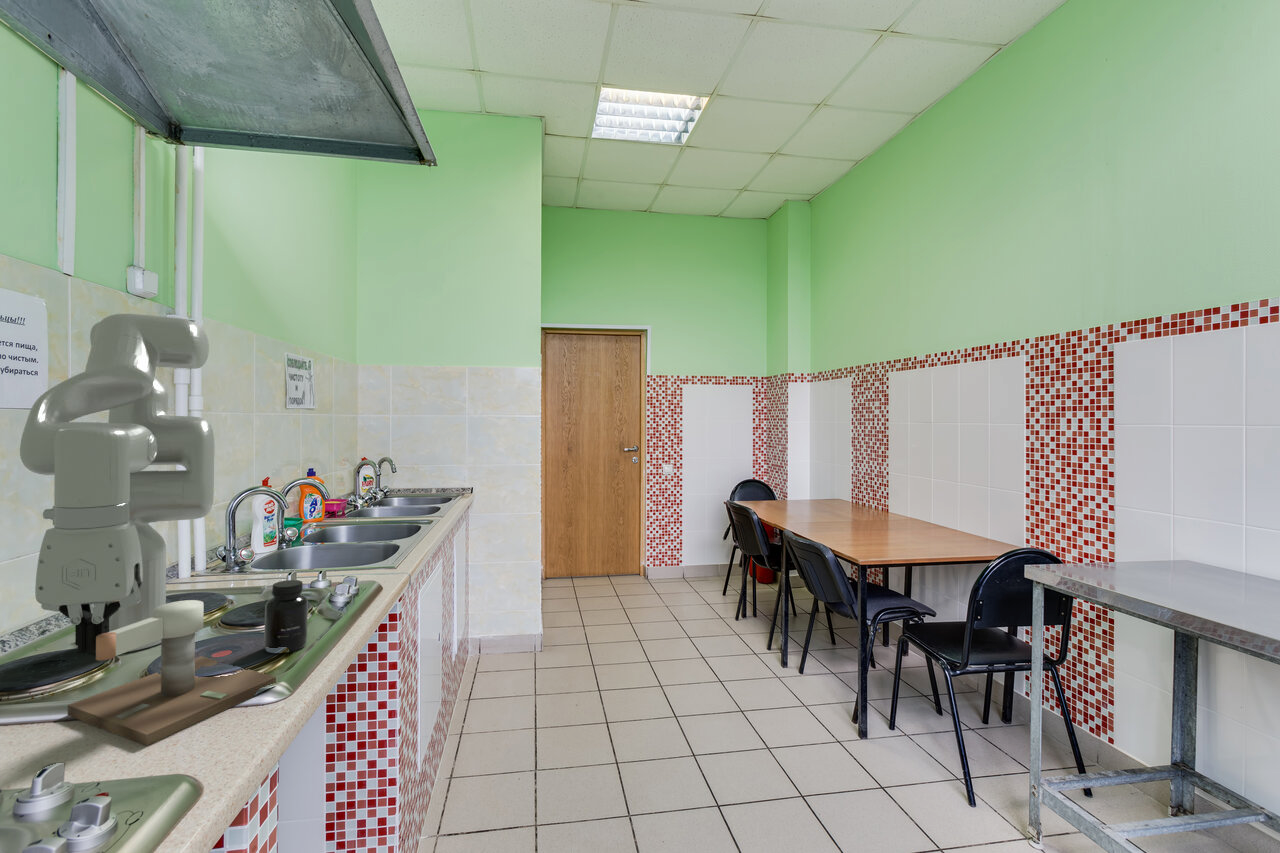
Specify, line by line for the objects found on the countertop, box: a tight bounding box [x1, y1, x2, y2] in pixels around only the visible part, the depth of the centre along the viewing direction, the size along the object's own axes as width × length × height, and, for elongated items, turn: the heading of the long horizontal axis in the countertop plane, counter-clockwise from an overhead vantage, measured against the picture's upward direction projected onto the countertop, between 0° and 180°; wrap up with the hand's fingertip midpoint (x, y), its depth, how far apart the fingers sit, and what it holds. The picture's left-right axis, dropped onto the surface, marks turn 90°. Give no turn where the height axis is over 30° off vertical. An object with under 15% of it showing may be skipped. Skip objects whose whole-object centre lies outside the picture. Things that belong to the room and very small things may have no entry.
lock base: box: [67, 632, 277, 747], centre depth 88 cm, size 18×18×10 cm
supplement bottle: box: [263, 579, 309, 653], centre depth 108 cm, size 7×7×12 cm
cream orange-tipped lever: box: [95, 599, 205, 661], centre depth 84 cm, size 14×6×4 cm, turn 169°
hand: (92, 649), depth 80 cm, fingers closed
